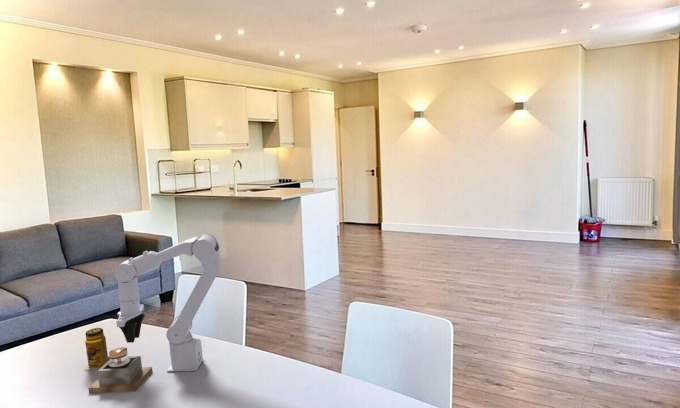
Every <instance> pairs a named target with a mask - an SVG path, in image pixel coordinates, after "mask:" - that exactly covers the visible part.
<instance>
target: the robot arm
mask: <svg viewBox="0 0 680 408" xmlns="http://www.w3.org/2000/svg"><path fill="white" fill-rule="evenodd" d="M182 255H186V256H189V257H193V255H194V257H195V258H196V259H197V260H198V262H199V263H201V266H202V268H203V271H202V272H201V274H200V276H199V278H198V280H197V282H196V283H195V285H194V287H193V289H192V291H191V293H190V294H189V296H188V298H187V300H186V302H185V304H184V306H183V308H182V310H181V311H180V313H179V315H177V316H176V317H174V318H173V321H172V323H171V325H170V326H169V327H168V329H167V331H166V333H165V334H166V339H167V341H168V343H169V345H168V346H169V355H170V365H169V367H168V368H167V370H166V372H168V373H169V372H193V371H197V370H198V369H199V367H200V365H201V364H202V363H203V361H205V359H204V357H203V348H202V347H203V346H202V341H201V339H200V338H194V337H193V334H192V332H191V329H192V328H193V320H194V318H195V316H196V314H197V313H198V311H199V309H200V307H201V306H202V303H203V302H204V300H205V297H206V296H207V294H208V292H209V291H210V290H211V287H212V285H213V283H214V281H215V279H216V277H217V275H218V274H219V272H220V270H221V267H222V265H221V256H220V255H221V254H220V244H219V243H218V241H217V239H216V237H215V236H214V235H213V234H210V233H204V234H202V235H200V236H194V237H191V238H189V239H185V240H183V241H181V242H179V243H177V244H174V245H172V246H170V247H168V248H166V249H162V250H161V251H159V252H157V251H154V250H150V251H148V250H145V251H143V252H142V254H141V255H138V256H135V257H130V258H128V260H123V262H121V263H120V264H119V265H117V266H116V268H115V269H114V272H113V273H114V278H115V279H116V280H117V285H118V286H117V288H118V298H119V308H120V311H118V312H117V313H116V314H117V316H118V319H117V320H116V327H117V328H119V329H120V330H121V332H122V334H123V336H124V338H125V341H126V343H127V344H128V343H130V344H131V343H135V339H139V338H140V334H141V327H142V324H143V320H144V319H145V313H142V312H143V311H144V310H145V304H144V303H143V304H142V303H141V302H140V301H141V299H140V290H139V282H138V276H142V275H145V274H146V273H149V272H152V271H154V270H157V269H158V268H160V266H161V264H162V263H163V262H165V261H168V260H171V259H174V258H177V257H179V256H182Z"/></svg>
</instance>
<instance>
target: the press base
mask: <svg viewBox="0 0 680 408" xmlns="http://www.w3.org/2000/svg"><path fill="white" fill-rule="evenodd" d="M125 357H128V358H130V362H129V363H128V364H126V365H124V366H120V367H110V366H109V362H111V361H112V360H114V359H110V360H109V361H108V362H107V363H106V364H104V365H103V366H102V367H101V368H98V370H97V377H98V378H97V379H96V380H95V381H94V382H93V383H92V384H91V385H90V386H89V387H88V388H87V389H88V393H90V394H91V393H93V394H95V393H118V392H119V393H121V392H124V393H125V392H136V391H137V390H138V389H139V388H140V387H141V385H142V384H143V383H144V382H145V381H146V380H147V378H148V377H149V376H150V375H151V374H152V372H153V366H143V365H142V364H143V363H142V356H141V355H133V356H131V355H129V356H127V355H126V356H125Z"/></svg>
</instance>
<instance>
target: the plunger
mask: <svg viewBox="0 0 680 408" xmlns="http://www.w3.org/2000/svg"><path fill="white" fill-rule="evenodd" d="M128 353H129V352H128V348H127V347H125V346H124V347H122V346H121V347H116V348H113V349H112V350H110V351H109V352H108V356H110V359H114V360H112V361H111V362H109V366H110V367H120V366H124V365H126V364H128V363H129V362H130V358H128V357H126V356H127V355H128Z"/></svg>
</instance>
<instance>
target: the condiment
mask: <svg viewBox="0 0 680 408" xmlns="http://www.w3.org/2000/svg"><path fill="white" fill-rule="evenodd" d="M84 343H85V349H86V357H87V365H86V368H85V371H91V370H97V369H98V370H99V369H100V368H101V367H102V366H103V365H104V364H106V363H107V362H108V361H109V360H110V356H109V352H108V348H107V347H108V346H107V339H106V336H105V333H104V329H103V328H101V327H94V328H90V329H89V330H87V331H86V332H85V341H84Z"/></svg>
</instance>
